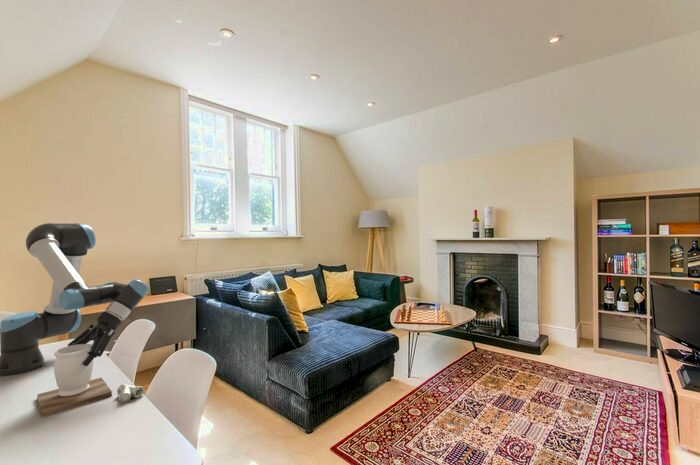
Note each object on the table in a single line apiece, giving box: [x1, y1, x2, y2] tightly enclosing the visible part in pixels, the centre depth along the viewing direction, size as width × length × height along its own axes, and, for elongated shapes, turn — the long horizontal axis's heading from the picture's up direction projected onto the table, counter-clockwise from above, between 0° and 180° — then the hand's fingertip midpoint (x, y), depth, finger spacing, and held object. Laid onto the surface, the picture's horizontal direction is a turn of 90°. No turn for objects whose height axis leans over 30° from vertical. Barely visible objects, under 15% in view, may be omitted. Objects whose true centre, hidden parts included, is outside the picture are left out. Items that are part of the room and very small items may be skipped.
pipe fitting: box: [116, 383, 145, 404], centre depth 114 cm, size 8×4×7 cm
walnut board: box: [36, 377, 113, 418], centre depth 115 cm, size 18×18×2 cm
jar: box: [53, 343, 94, 396], centre depth 117 cm, size 11×10×15 cm
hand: (65, 371), depth 113 cm, fingers open, 12 cm apart
